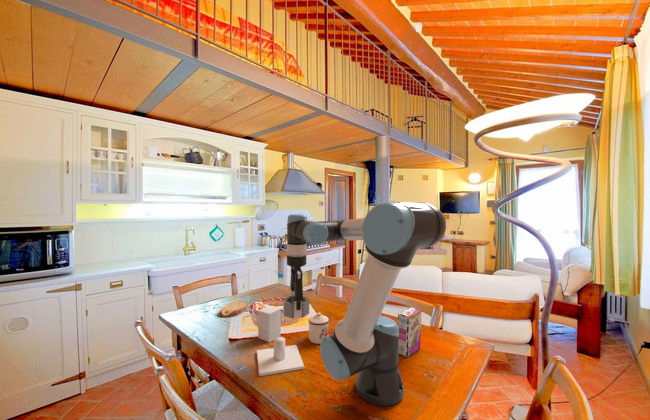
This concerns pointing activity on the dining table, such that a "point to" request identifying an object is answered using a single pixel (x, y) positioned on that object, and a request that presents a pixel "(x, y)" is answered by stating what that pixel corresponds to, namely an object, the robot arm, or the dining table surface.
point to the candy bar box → (409, 331)
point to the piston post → (279, 358)
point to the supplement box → (269, 323)
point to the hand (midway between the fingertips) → (295, 312)
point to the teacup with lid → (318, 328)
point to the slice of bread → (233, 309)
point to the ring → (289, 306)
